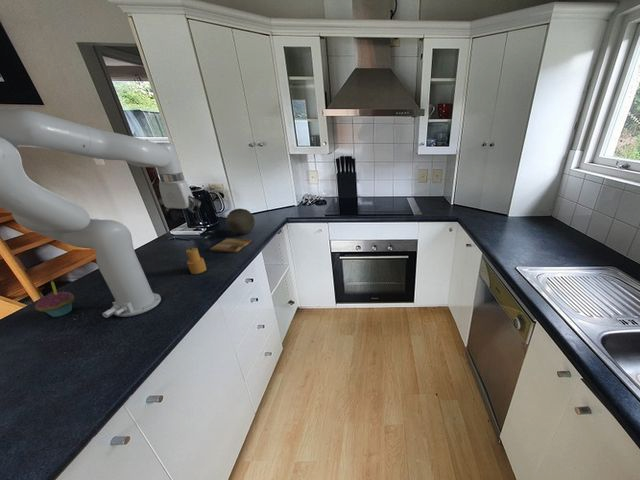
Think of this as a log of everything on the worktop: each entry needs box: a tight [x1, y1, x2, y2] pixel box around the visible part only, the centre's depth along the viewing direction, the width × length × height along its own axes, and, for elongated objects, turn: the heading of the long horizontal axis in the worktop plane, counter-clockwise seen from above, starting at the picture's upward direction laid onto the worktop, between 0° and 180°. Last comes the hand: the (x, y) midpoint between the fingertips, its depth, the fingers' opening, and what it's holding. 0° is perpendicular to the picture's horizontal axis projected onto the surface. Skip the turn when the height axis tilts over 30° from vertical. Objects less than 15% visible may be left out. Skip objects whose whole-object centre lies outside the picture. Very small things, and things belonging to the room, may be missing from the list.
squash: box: [185, 246, 207, 275], centre depth 116 cm, size 6×6×11 cm
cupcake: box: [34, 279, 75, 318], centre depth 89 cm, size 9×8×12 cm
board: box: [209, 237, 252, 253], centre depth 142 cm, size 14×14×1 cm
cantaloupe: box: [226, 208, 256, 236], centre depth 153 cm, size 14×14×15 cm
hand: (185, 220), depth 110 cm, fingers open, 9 cm apart
